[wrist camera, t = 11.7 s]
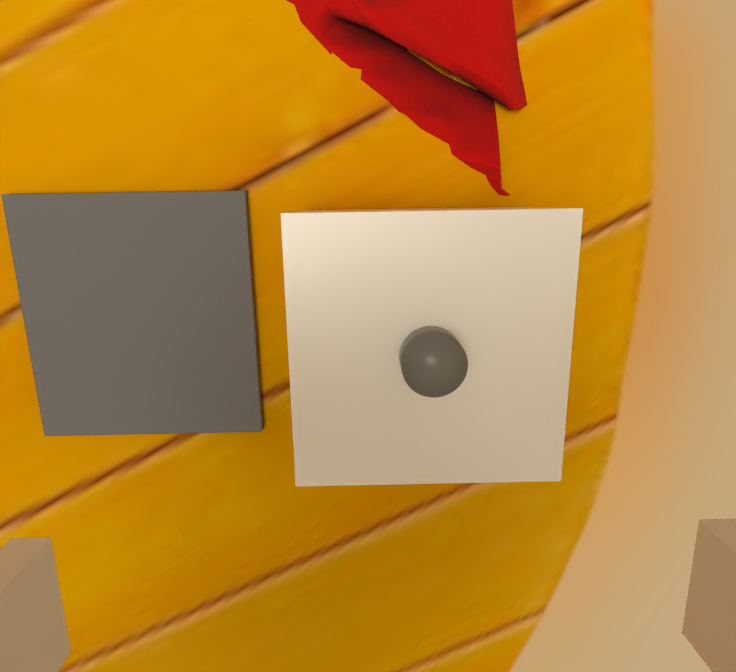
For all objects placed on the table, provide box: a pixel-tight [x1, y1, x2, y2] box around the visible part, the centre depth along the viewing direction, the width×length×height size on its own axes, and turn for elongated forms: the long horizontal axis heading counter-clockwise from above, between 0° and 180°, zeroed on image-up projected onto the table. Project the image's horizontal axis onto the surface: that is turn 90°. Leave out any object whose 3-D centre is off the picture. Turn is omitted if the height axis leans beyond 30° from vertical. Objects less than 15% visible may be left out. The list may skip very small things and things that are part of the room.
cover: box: [281, 207, 583, 487], centre depth 26 cm, size 12×12×10 cm
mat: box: [2, 191, 263, 436], centre depth 30 cm, size 14×13×1 cm
